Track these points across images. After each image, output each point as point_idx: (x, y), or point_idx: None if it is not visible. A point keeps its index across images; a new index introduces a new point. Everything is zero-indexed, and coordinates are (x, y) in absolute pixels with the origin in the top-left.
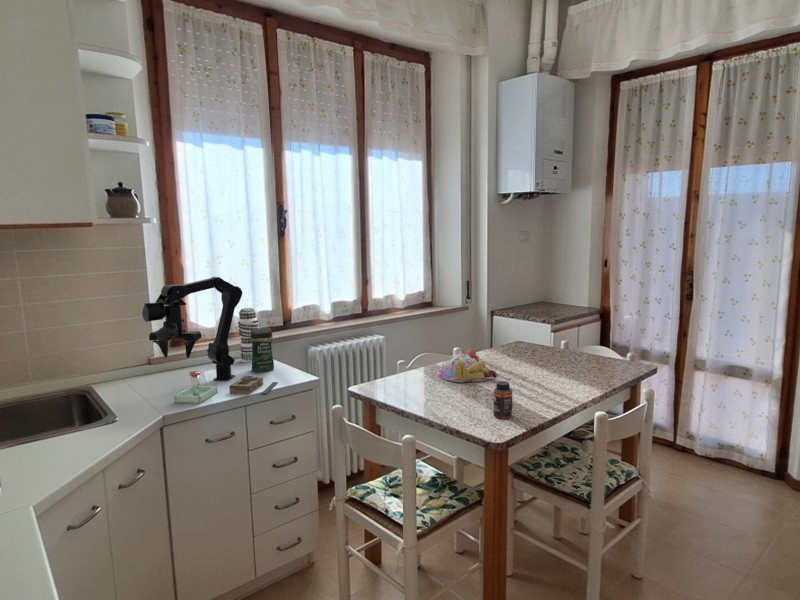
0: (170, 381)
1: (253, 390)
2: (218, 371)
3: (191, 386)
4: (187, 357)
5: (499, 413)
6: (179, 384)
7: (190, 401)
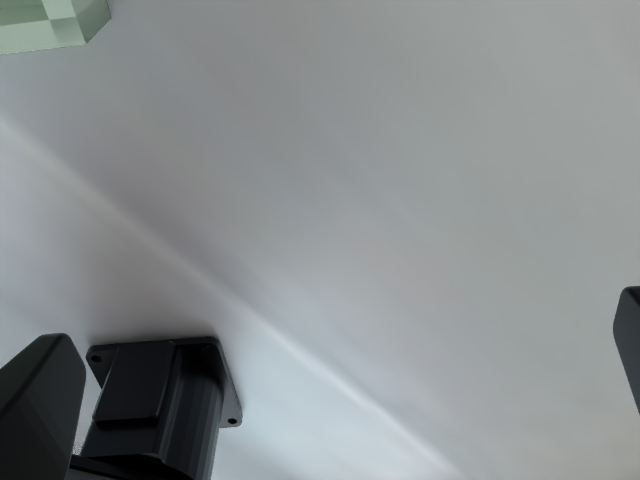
0: (604, 254)
1: None
2: (131, 400)
3: (69, 5)
4: (35, 339)
5: None
6: (457, 201)
7: None
